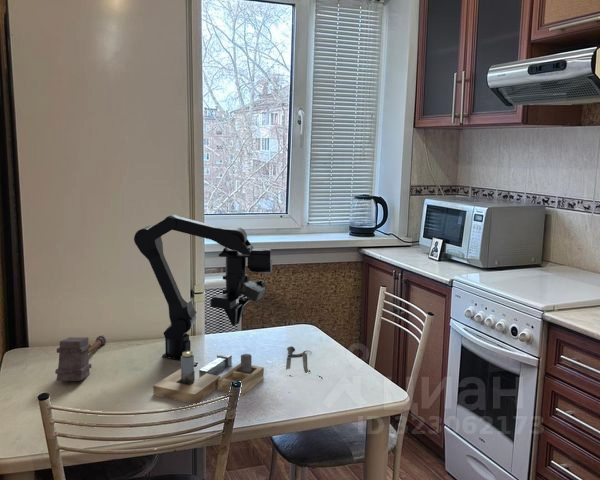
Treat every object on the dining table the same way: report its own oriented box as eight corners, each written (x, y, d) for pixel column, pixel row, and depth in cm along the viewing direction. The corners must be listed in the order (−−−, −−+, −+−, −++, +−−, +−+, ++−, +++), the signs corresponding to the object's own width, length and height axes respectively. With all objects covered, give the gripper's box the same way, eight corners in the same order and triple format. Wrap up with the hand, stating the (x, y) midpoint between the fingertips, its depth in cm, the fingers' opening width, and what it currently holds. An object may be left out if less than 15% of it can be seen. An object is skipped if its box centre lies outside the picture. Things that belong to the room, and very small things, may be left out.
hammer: (54, 381, 147) (55, 341, 147) (91, 358, 179) (92, 326, 180) (81, 381, 147) (82, 341, 148) (113, 358, 180) (114, 326, 180)
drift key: (197, 378, 154) (197, 368, 153) (220, 362, 165) (220, 353, 165) (209, 380, 153) (208, 370, 152) (231, 364, 164) (231, 355, 163)
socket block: (153, 394, 143) (153, 385, 143) (181, 377, 154) (181, 368, 154) (195, 404, 139) (195, 394, 138) (220, 385, 150) (220, 376, 149)
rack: (217, 390, 147) (217, 365, 146) (240, 373, 158) (240, 349, 156) (242, 395, 144) (242, 369, 143) (263, 378, 155) (263, 353, 154)
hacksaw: (287, 349, 178) (287, 345, 177) (320, 350, 177) (321, 346, 177) (284, 382, 154) (284, 376, 154) (322, 383, 154) (323, 377, 153)
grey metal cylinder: (178, 391, 146) (178, 353, 144) (185, 386, 149) (185, 349, 147) (189, 393, 144) (189, 355, 143) (196, 388, 147) (196, 351, 146)
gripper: (245, 282, 153) (245, 338, 156) (275, 268, 171) (274, 319, 173) (209, 277, 158) (209, 332, 160) (241, 264, 175) (241, 314, 177)
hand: (235, 324), depth 168 cm, fingers closed
